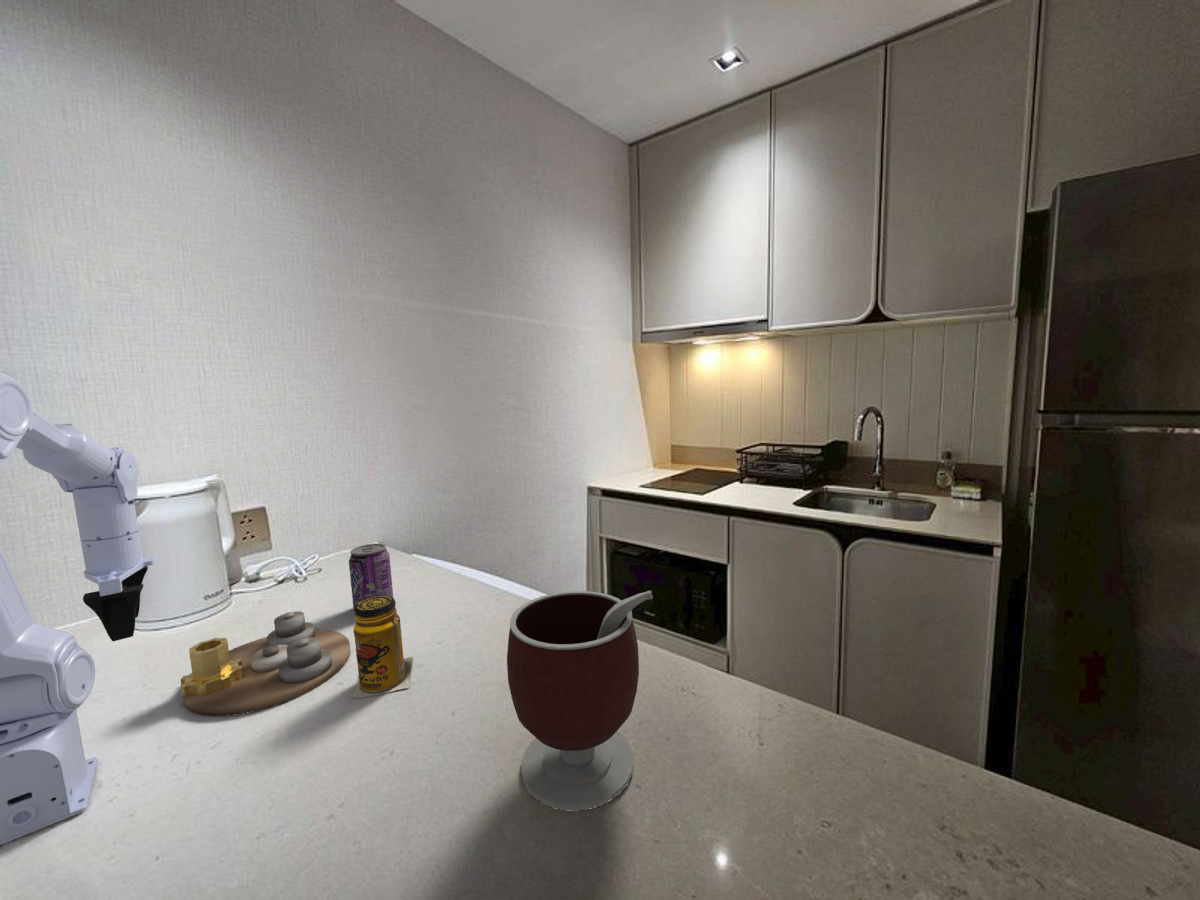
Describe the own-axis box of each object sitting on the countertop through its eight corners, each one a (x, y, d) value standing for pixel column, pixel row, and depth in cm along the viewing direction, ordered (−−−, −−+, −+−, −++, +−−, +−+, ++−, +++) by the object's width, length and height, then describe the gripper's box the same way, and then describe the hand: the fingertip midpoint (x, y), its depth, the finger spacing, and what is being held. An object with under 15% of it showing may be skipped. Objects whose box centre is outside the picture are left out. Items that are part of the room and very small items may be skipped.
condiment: (352, 700, 66) (343, 616, 65) (362, 667, 74) (354, 592, 73) (409, 689, 69) (402, 607, 67) (413, 658, 77) (406, 584, 75)
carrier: (366, 671, 73) (363, 634, 72) (183, 740, 60) (176, 695, 59) (333, 623, 89) (329, 593, 88) (182, 669, 76) (176, 633, 75)
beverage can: (354, 605, 97) (348, 546, 95) (393, 597, 100) (388, 540, 98) (353, 619, 90) (346, 557, 89) (394, 611, 93) (389, 550, 92)
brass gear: (246, 682, 69) (241, 645, 69) (182, 704, 65) (176, 665, 64) (240, 662, 74) (236, 628, 74) (181, 681, 70) (176, 645, 69)
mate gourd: (495, 812, 48) (482, 618, 45) (533, 718, 61) (524, 564, 59) (655, 826, 46) (650, 623, 43) (657, 725, 59) (654, 566, 57)
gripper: (146, 539, 64) (161, 637, 66) (152, 519, 75) (165, 603, 77) (68, 552, 60) (86, 656, 62) (87, 528, 71) (102, 617, 73)
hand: (125, 628), depth 69 cm, fingers open, 7 cm apart
